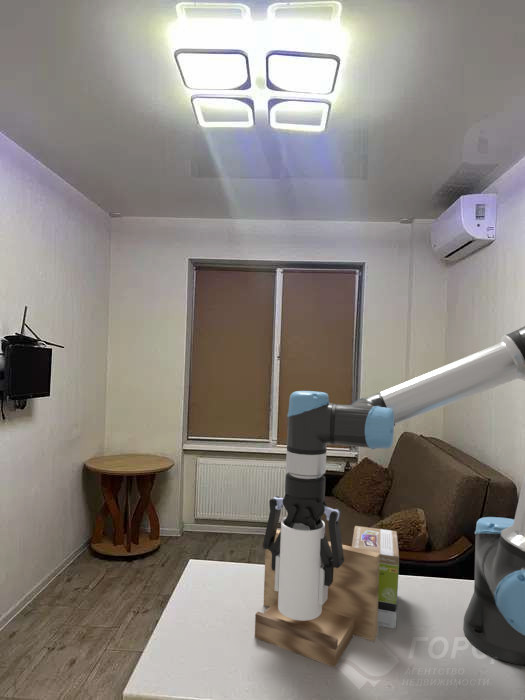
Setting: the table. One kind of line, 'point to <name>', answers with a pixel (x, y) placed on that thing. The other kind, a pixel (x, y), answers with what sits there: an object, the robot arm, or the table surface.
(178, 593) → the table surface
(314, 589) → the cup
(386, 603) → the tea box
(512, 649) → the robot arm
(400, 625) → the table surface
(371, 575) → the board
